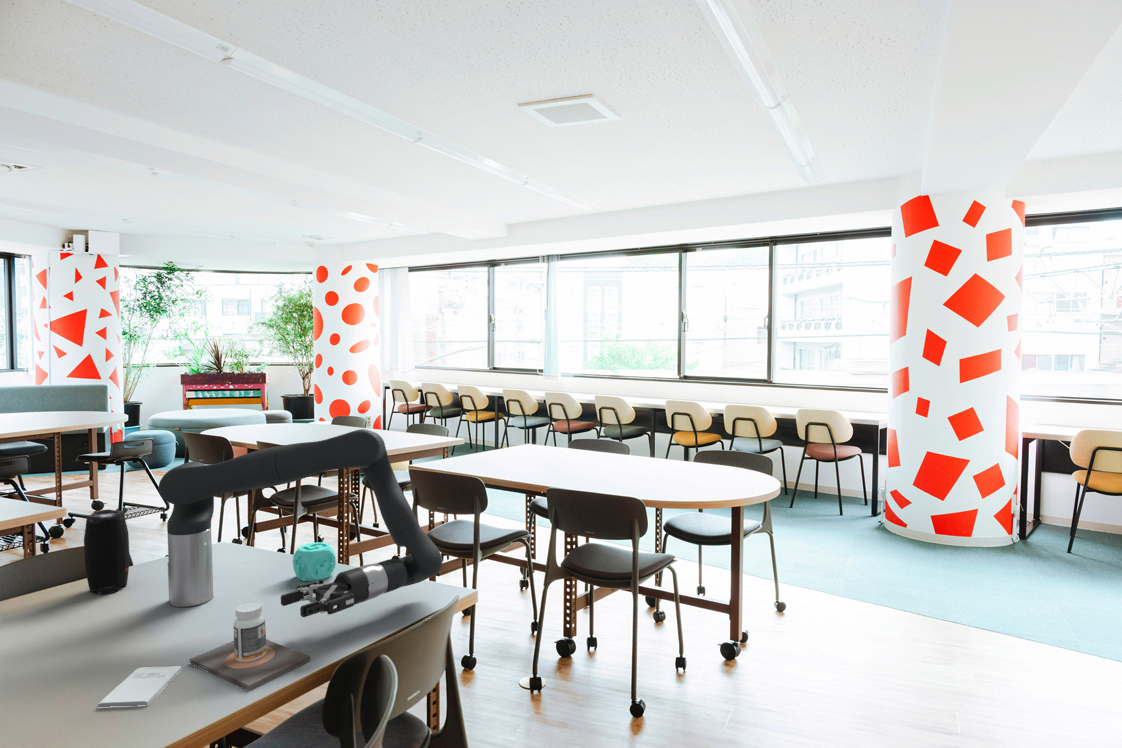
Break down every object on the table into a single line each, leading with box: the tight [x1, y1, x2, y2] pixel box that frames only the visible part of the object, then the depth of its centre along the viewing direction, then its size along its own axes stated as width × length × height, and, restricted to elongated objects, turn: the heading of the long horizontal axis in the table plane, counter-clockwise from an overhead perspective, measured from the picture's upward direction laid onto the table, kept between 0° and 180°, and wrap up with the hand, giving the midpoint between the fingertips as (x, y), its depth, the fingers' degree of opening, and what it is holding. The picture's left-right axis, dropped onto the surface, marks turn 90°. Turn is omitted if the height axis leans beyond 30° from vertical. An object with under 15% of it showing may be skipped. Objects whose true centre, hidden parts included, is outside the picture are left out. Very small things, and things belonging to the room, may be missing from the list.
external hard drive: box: [97, 665, 183, 708], centre depth 121 cm, size 2×8×12 cm
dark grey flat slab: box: [189, 638, 311, 691], centre depth 131 cm, size 19×13×1 cm
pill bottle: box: [232, 602, 267, 662], centre depth 131 cm, size 6×6×10 cm
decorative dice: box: [292, 541, 337, 582], centre depth 177 cm, size 8×8×8 cm
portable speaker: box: [83, 509, 131, 596], centre depth 168 cm, size 9×9×20 cm
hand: (291, 606), depth 137 cm, fingers open, 8 cm apart
